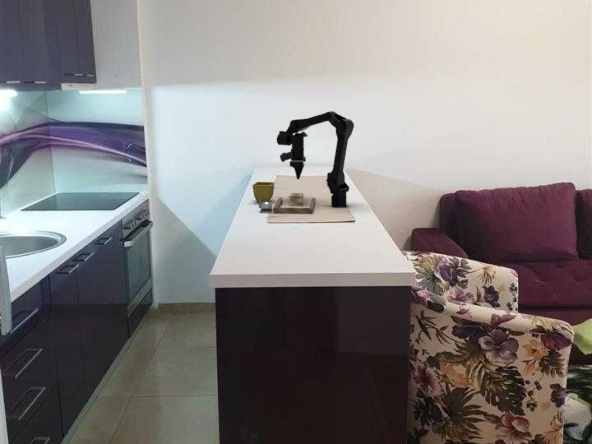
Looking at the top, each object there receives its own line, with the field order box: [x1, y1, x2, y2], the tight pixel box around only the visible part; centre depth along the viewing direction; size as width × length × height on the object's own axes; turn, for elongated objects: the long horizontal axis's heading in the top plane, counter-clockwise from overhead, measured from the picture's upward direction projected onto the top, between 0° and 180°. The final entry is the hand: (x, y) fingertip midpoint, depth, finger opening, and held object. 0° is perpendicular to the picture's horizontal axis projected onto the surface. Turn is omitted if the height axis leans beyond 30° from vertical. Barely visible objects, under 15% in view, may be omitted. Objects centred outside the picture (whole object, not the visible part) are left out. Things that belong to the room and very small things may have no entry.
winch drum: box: [258, 198, 273, 214], centre depth 275 cm, size 6×5×6 cm
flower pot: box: [252, 181, 275, 204], centre depth 295 cm, size 9×9×9 cm
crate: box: [288, 192, 305, 207], centre depth 290 cm, size 6×6×5 cm
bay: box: [272, 197, 316, 215], centre depth 283 cm, size 17×23×2 cm
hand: (298, 179), depth 296 cm, fingers closed
